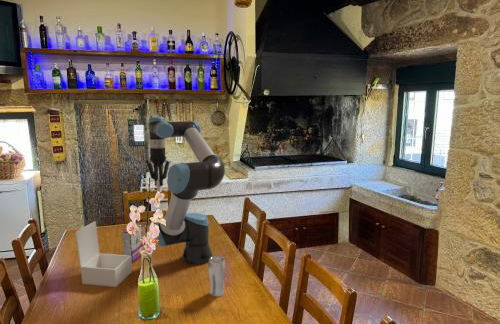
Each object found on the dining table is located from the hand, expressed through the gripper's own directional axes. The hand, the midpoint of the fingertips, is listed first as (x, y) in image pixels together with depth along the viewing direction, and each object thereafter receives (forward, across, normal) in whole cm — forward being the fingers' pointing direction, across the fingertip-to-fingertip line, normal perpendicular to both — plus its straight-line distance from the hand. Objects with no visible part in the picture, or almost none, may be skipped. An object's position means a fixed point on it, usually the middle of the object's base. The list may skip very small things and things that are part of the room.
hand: (159, 192), depth 182 cm
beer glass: (+33, +40, -36) cm, 63 cm away
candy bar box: (+33, -10, -12) cm, 36 cm away
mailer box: (+32, -12, -32) cm, 47 cm away
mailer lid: (+16, -20, -32) cm, 41 cm away
